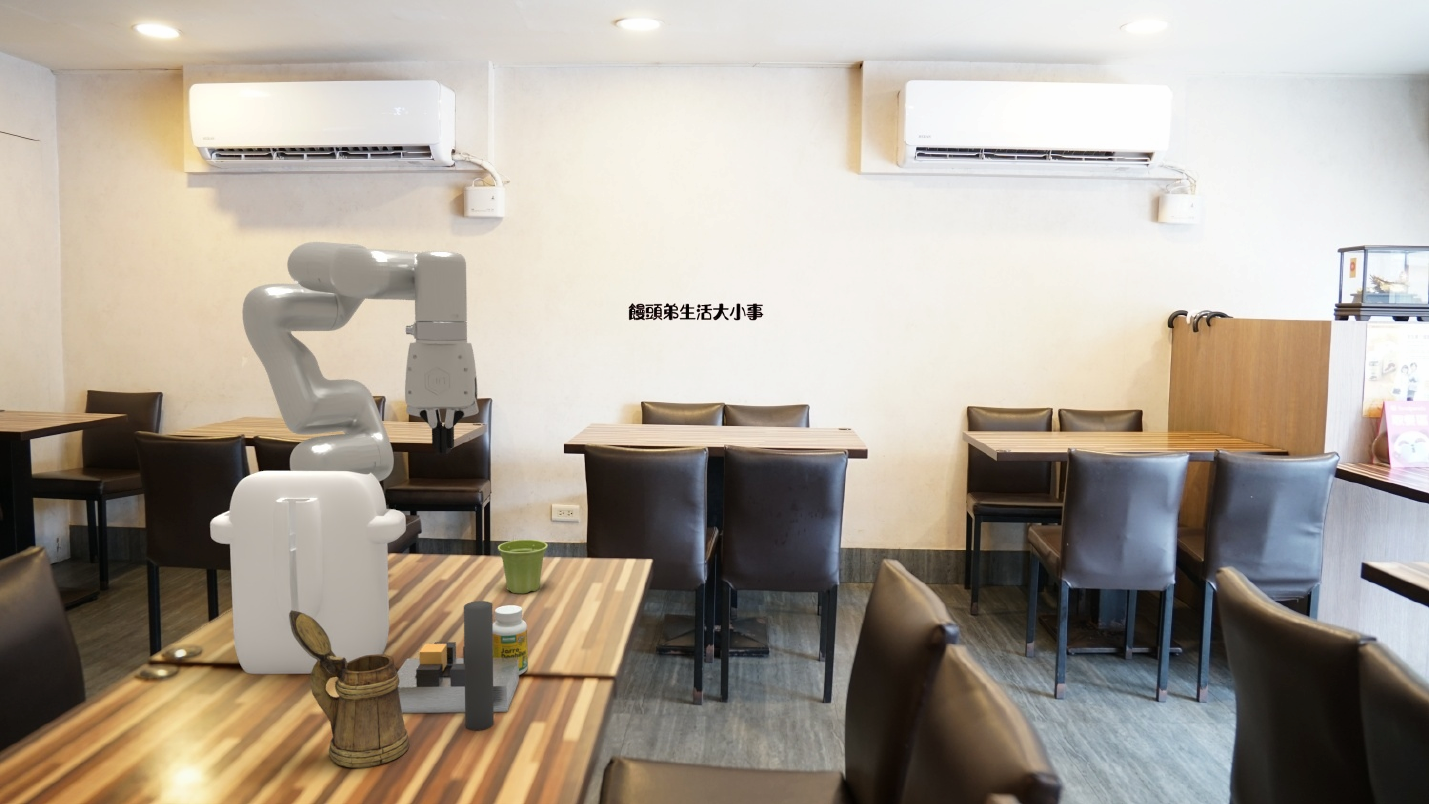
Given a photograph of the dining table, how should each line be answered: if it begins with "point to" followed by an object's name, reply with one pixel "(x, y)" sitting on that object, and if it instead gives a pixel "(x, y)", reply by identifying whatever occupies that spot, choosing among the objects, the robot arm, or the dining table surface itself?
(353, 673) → the wooden mug
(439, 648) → the block
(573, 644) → the dining table surface
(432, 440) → the robot arm
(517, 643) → the supplement bottle
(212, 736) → the dining table surface
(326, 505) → the toaster
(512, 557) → the plant pot
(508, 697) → the breaker panel
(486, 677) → the post
